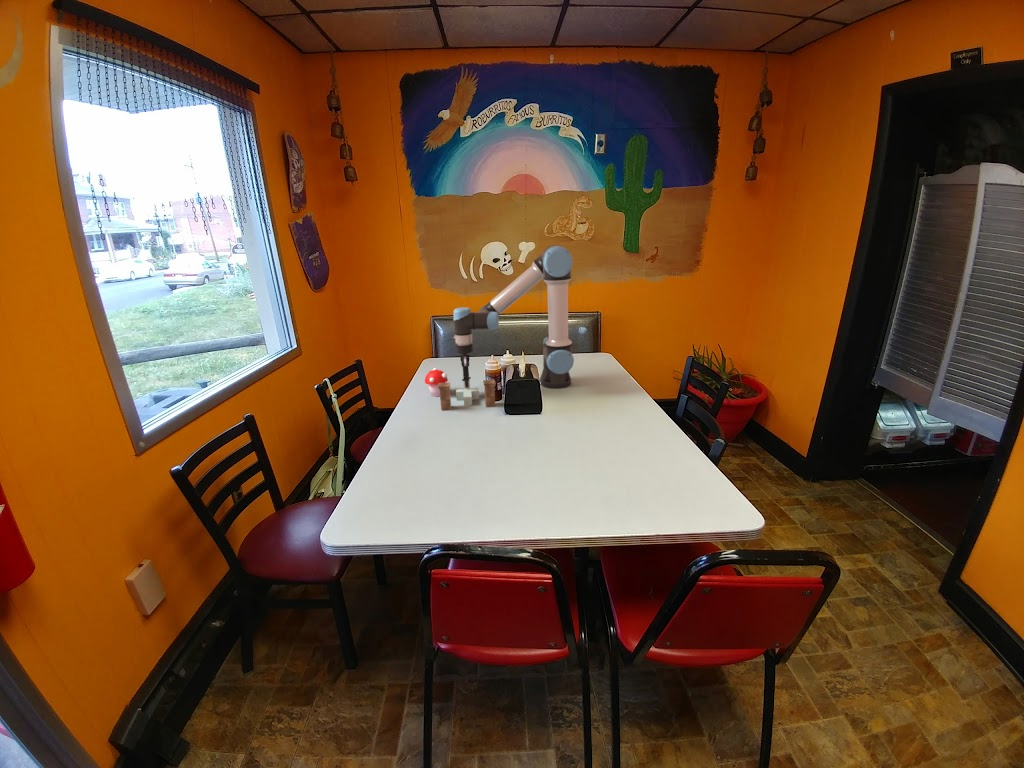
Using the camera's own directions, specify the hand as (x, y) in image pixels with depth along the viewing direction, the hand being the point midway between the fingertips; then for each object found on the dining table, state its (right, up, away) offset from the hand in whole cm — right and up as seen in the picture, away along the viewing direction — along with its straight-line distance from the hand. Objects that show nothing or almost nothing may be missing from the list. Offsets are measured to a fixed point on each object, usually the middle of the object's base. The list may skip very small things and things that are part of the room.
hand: (467, 393), depth 204 cm
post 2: (+11, -5, -10) cm, 16 cm away
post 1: (-8, -6, -12) cm, 16 cm away
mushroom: (-14, -1, +4) cm, 15 cm away
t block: (+1, -3, -5) cm, 6 cm away
